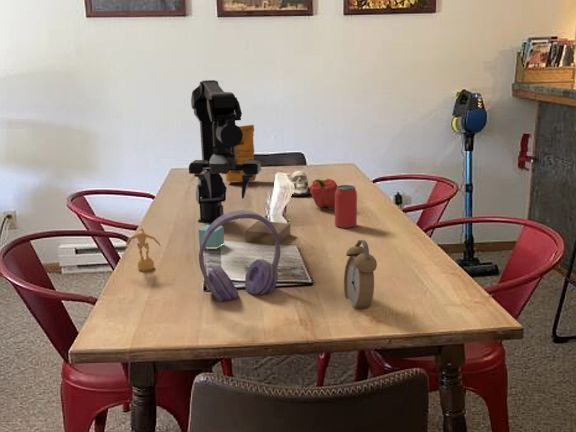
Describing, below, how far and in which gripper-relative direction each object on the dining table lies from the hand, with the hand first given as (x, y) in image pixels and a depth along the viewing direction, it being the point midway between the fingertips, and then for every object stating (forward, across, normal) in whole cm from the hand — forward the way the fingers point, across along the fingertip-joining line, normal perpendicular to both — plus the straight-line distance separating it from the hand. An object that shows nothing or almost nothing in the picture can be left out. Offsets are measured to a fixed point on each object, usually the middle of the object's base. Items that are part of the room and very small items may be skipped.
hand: (226, 198), depth 173 cm
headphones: (+14, +11, -36) cm, 40 cm away
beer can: (+14, +32, +21) cm, 40 cm away
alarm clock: (+14, +37, -38) cm, 55 cm away
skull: (+15, +17, +62) cm, 66 cm away
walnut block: (+14, +10, +6) cm, 18 cm away
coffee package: (+13, -12, +80) cm, 82 cm away
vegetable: (+14, +24, +42) cm, 50 cm away
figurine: (+14, -16, -23) cm, 31 cm away
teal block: (+14, -4, -3) cm, 15 cm away
